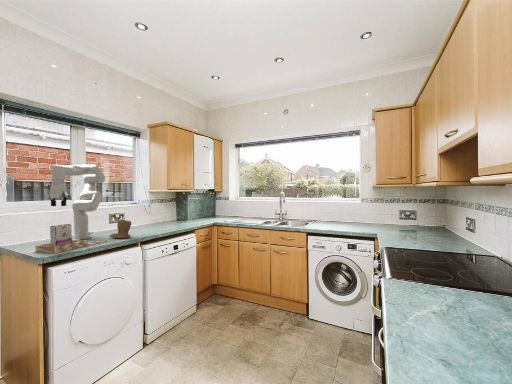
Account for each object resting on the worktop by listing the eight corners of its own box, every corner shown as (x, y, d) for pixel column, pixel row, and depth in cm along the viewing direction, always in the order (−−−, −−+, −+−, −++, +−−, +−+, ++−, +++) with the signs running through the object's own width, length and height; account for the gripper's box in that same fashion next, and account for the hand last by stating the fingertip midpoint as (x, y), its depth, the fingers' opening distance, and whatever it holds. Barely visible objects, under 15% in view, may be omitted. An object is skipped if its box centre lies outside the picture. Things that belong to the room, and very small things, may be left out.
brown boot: (134, 236, 206) (134, 219, 206) (122, 239, 195) (122, 221, 195) (121, 236, 211) (121, 218, 211) (108, 238, 200) (108, 220, 200)
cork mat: (100, 241, 190) (100, 240, 190) (107, 241, 188) (107, 240, 188) (83, 244, 176) (83, 244, 176) (91, 245, 175) (91, 244, 175)
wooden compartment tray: (69, 244, 178) (68, 239, 178) (87, 245, 174) (87, 239, 174) (35, 251, 157) (35, 245, 157) (55, 253, 153) (55, 246, 153)
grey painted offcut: (70, 242, 175) (70, 239, 175) (80, 242, 174) (80, 239, 174) (66, 243, 172) (66, 240, 172) (76, 243, 171) (76, 240, 171)
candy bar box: (66, 246, 171) (66, 223, 171) (72, 247, 170) (71, 223, 170) (49, 250, 160) (49, 225, 160) (56, 251, 159) (55, 226, 159)
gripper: (43, 182, 174) (44, 206, 174) (62, 181, 170) (62, 206, 170) (54, 182, 181) (55, 205, 181) (72, 182, 177) (72, 205, 177)
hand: (58, 206), depth 175 cm, fingers open, 9 cm apart
